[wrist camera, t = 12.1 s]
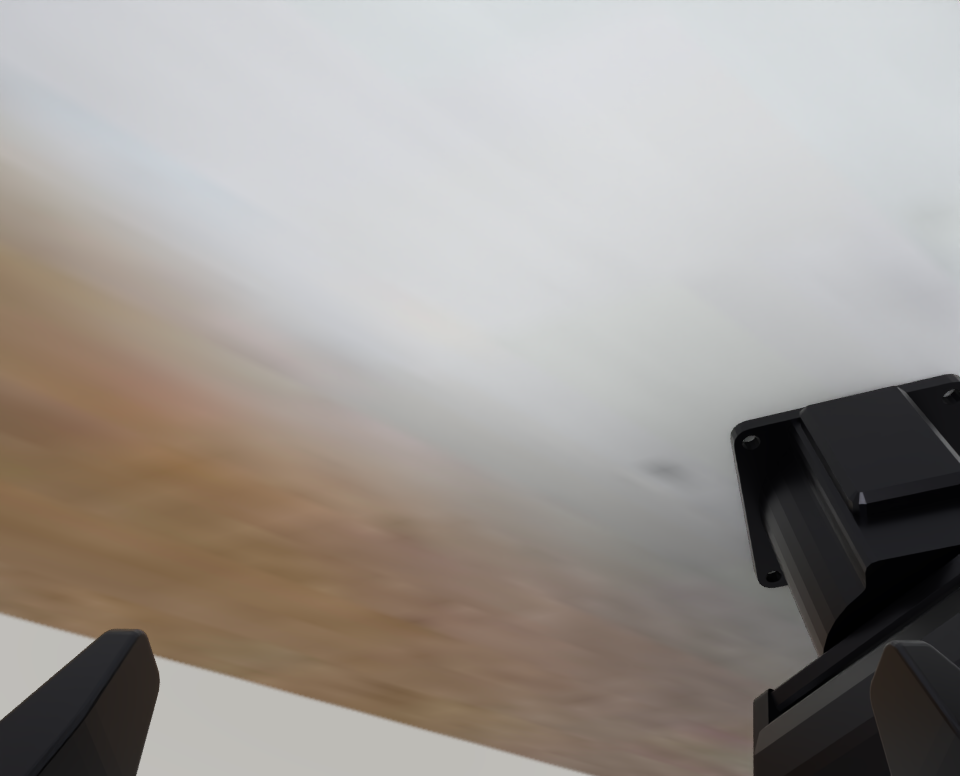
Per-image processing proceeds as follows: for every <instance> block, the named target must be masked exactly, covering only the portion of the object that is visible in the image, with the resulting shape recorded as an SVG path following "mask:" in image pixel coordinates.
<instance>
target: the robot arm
mask: <svg viewBox="0 0 960 776" xmlns="http://www.w3.org/2000/svg"><path fill="white" fill-rule="evenodd" d="M952 389H955V390H954V392H953V393H952V394H951V395H949V396H947V397H943V396H944V394H945V393H946V392H947V391H950V390H952ZM754 435H755V436H756V437H755V438H754V439H753V440H752V441H750V442H743V440H744V439H745V438H746V437H748V436H754ZM731 444H732V450H733V455H734V461H735V466H736V472H737V477H738V483H739V488H740V494H741V500H742V505H743V511H744V516H745V522H746V527H747V533H748V538H749V544H750V549H751V555H752V560H753V566H754V571H755V574H756V576H757V579H758V581H759V583H760V584H761V585H762V586H764V587H768V588H776V587H781V586H786V585H788V586H789V588H790V590H791V593H792V595H793V597H794V600H795V602H796V605H797V607H798V609H799V612H800V614H801V616H802V619H803V621H804V623H805V626H806V628H807V631H808V633H809V635H810V638H811V640H812V642H813V645H814V647H815V649H816V652H817V654H818V658H817V659H816V660H814V661H813V662H812V663H810V664H809V665H808V666H806V667H805V668H804V669H802V670H801V671H799V672H798V673H797V674H795V675H794V676H793V677H791V678H790V679H789V680H787V681H786V682H785V683H783V684H782V685H781V686H779V687H778V688H776V689H775V690H773V689H768V690H767V691H765V692H764V693H763V694H761V695H760V696H759V697H757V698H756V699H755V700H754V702H753V737H754V756H753V757H754V776H960V377H959V376H957V375H954V374H948V375H942V376H938V377H933V378H929V379H925V380H920V381H916V382H912V383H908V384H903V385H899V386H891V387H887V388H882V389H878V390H874V391H869V392H865V393H861V394H856V395H852V396H848V397H844V398H839V399H835V400H831V401H826V402H822V403H818V404H814V405H809V406H807V407H804V408H800V409H796V410H791V411H787V412H783V413H779V414H774V415H770V416H766V417H761V418H757V419H753V420H748V421H745V422H742V423H740V424H738V425H737V426H736V427H734V429H733V430H732V432H731ZM771 571H775V572H774V573H771V574H768V573H769V572H771ZM159 683H160V679H159V671H158V668H157V665H156V662H155V659H154V655H153V652H152V649H151V646H150V643H149V640H148V637H147V635H146V633H145V632H144V631H142V630H140V629H111V630H109V631H107V632H105V633H103V634H102V635H101V636H100V637H99V638H97V639H96V640H95V641H94V642H93V643H91V644H90V645H89V646H88V647H87V648H86V649H84V650H83V651H82V652H81V653H80V654H78V655H77V656H76V657H75V658H74V659H73V660H71V661H70V662H69V663H68V664H67V665H66V666H64V667H63V668H62V669H61V670H60V671H58V672H57V673H56V674H55V675H54V676H53V677H51V678H50V679H49V680H48V681H47V682H45V683H44V684H43V685H42V686H41V687H39V688H38V689H37V690H36V691H35V692H34V693H32V694H31V695H30V696H29V697H28V698H26V699H25V700H24V701H23V702H22V703H21V704H20V705H18V706H17V707H16V708H15V709H13V710H12V711H11V712H10V713H9V714H8V715H6V716H5V717H4V718H3V719H2V720H1V721H0V776H136V774H137V770H138V766H139V763H140V759H141V755H142V752H143V748H144V744H145V741H146V737H147V733H148V729H149V725H150V722H151V718H152V714H153V711H154V707H155V703H156V700H157V696H158V692H159Z"/></svg>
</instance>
